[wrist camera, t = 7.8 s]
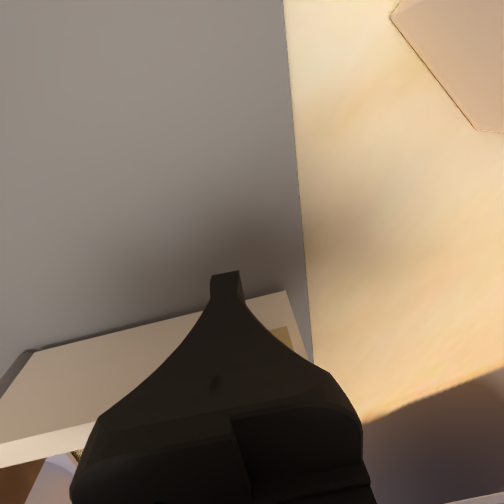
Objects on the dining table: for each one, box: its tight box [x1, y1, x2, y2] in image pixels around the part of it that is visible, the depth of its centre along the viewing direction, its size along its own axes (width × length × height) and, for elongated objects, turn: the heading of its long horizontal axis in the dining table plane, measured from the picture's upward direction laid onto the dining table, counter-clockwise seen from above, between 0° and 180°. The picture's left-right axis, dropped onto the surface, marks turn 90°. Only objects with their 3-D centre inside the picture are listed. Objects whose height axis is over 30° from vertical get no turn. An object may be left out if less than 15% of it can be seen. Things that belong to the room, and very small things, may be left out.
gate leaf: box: [0, 290, 309, 468], centre depth 12 cm, size 13×2×5 cm, turn 103°
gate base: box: [0, 0, 314, 379], centre depth 12 cm, size 20×22×1 cm
